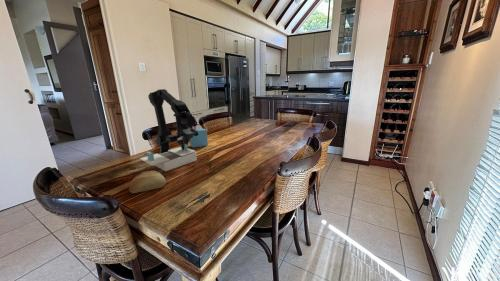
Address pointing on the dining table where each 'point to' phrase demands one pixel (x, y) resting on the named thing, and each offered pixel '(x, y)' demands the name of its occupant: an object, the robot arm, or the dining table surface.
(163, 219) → the dining table surface
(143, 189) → the bread roll
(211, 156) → the dining table surface
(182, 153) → the far flap
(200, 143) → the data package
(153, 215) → the dining table surface
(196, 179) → the dining table surface
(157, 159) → the near flap
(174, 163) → the carton
